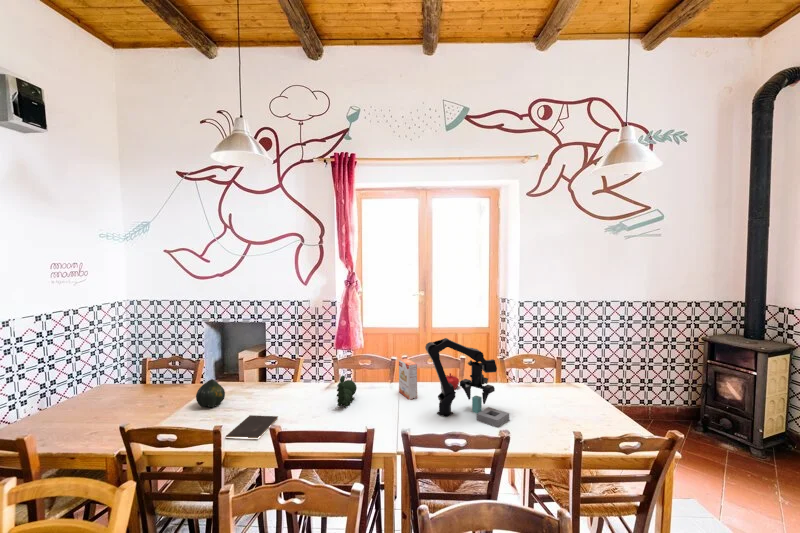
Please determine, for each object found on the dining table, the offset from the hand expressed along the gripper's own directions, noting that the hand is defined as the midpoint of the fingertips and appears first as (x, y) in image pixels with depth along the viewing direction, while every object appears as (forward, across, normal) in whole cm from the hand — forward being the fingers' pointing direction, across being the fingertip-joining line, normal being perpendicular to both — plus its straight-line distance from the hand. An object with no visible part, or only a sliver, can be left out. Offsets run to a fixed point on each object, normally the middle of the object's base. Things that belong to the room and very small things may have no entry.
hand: (476, 401), depth 215 cm
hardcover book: (+6, +70, +92) cm, 116 cm away
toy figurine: (+6, +63, +39) cm, 74 cm away
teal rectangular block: (+6, 0, 0) cm, 6 cm away
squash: (+6, +117, +94) cm, 150 cm away
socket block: (+5, -12, +4) cm, 14 cm away
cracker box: (+6, +44, +7) cm, 45 cm away
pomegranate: (+6, +33, -22) cm, 40 cm away
